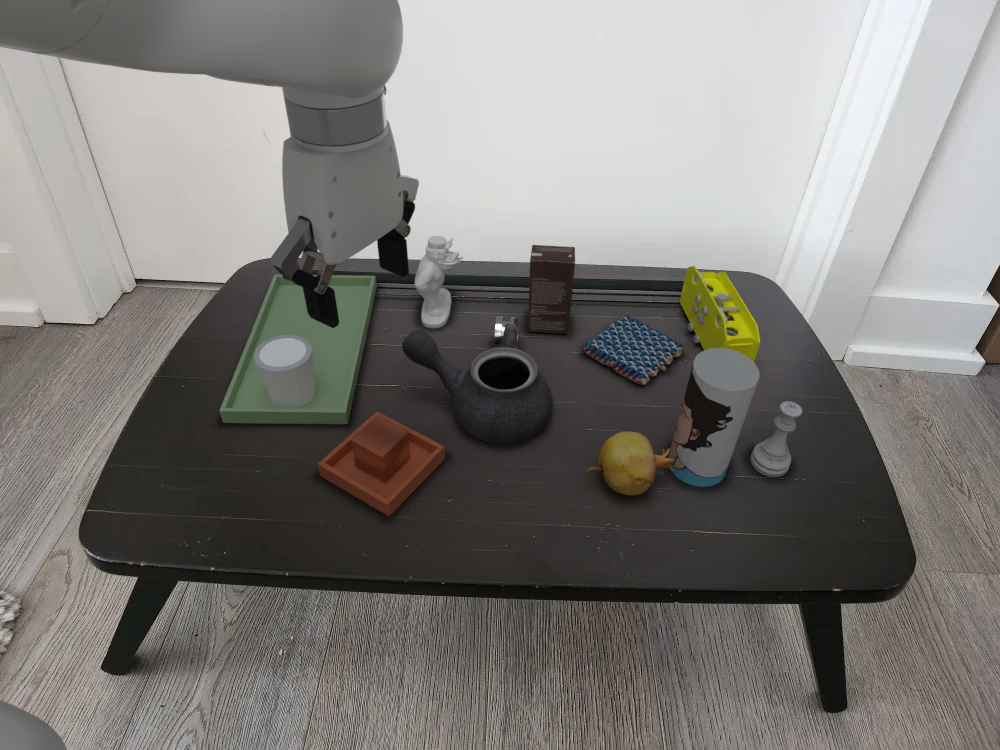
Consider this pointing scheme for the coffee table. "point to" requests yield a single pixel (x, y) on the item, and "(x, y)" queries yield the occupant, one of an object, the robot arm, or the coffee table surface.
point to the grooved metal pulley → (502, 329)
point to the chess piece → (776, 444)
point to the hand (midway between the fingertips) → (360, 295)
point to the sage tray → (330, 348)
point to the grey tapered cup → (287, 370)
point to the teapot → (491, 388)
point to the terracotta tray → (372, 490)
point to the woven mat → (633, 349)
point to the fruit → (629, 463)
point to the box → (550, 288)
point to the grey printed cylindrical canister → (712, 415)
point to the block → (381, 449)
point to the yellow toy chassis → (718, 313)
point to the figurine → (435, 281)
